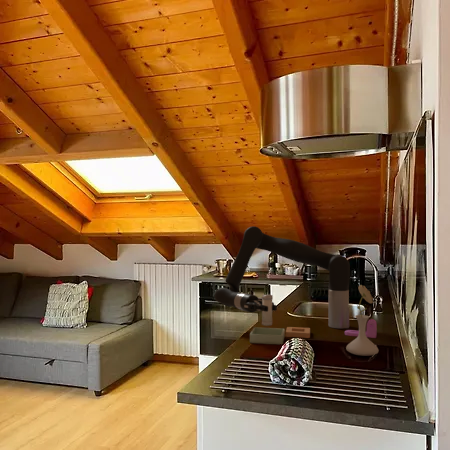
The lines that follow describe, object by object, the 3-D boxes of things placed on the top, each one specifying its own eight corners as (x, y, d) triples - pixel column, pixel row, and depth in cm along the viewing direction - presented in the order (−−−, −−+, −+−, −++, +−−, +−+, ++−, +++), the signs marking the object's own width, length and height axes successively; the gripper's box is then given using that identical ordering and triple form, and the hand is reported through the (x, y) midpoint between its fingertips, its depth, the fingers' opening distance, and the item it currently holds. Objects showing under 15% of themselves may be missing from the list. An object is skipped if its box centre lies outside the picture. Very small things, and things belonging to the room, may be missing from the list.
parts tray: (284, 336, 191) (284, 328, 191) (282, 344, 179) (282, 335, 179) (253, 335, 194) (253, 327, 194) (249, 342, 181) (249, 334, 181)
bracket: (376, 335, 196) (376, 319, 196) (375, 338, 190) (375, 321, 191) (345, 332, 200) (345, 317, 200) (344, 335, 195) (344, 319, 195)
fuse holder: (310, 332, 200) (310, 328, 200) (309, 337, 190) (309, 333, 190) (287, 331, 202) (287, 327, 202) (285, 336, 192) (285, 331, 192)
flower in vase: (380, 359, 159) (380, 288, 159) (347, 357, 161) (347, 287, 162) (375, 349, 172) (376, 283, 172) (344, 347, 174) (345, 282, 174)
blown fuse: (272, 323, 188) (273, 294, 188) (271, 325, 184) (272, 296, 184) (262, 323, 189) (262, 294, 189) (261, 325, 185) (261, 295, 185)
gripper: (233, 294, 194) (258, 300, 180) (259, 292, 202) (285, 297, 188) (233, 312, 194) (257, 319, 180) (259, 309, 202) (284, 316, 188)
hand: (271, 308), depth 184 cm, fingers closed on blown fuse, 4 cm apart
